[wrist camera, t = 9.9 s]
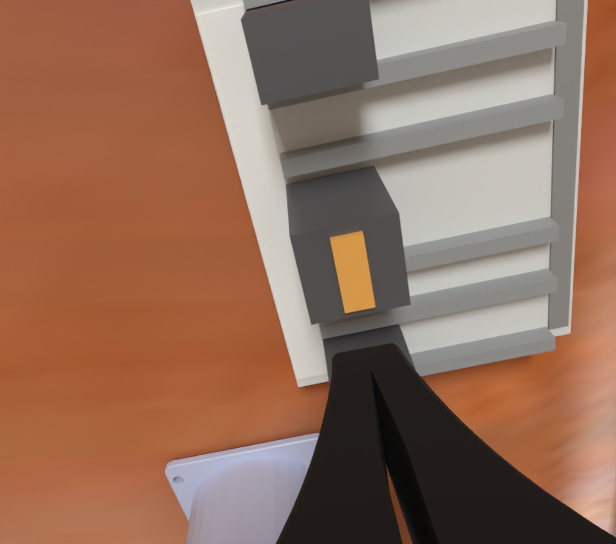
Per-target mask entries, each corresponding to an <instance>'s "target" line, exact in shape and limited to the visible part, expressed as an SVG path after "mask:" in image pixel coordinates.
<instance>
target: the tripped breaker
mask: <svg viewBox="0 0 616 544" xmlns="http://www.w3.org/2000/svg"><path fill="white" fill-rule="evenodd" d="M286 195H287V208H288V222H289V236H290V240H291V244H292V248H293V252H294V256H295V260H296V265H297V269H298V273H299V277H300V281H301V285H302V289H303V293H304V297H305V301H306V306H307V310H308V314H309V318H310V322H311V325H314V324H319V323H324V322H328V321H333V320H338V319H343V318H348V317H353V316H358V315H363V314H368V313H373V312H378V311H383V310H388V309H393V308H398V307H403V306H407V305H411V302H410V294H409V286H408V278H407V270H406V262H405V254H404V247H403V239H402V231H401V223H400V215H399V211H398V210H397V208H396V206H395V204H394V202H393V200H392V198H391V197H390V195H389V193H388V191H387V189H386V187H385V185H384V183H383V182H382V180H381V178H380V176H379V174H378V172H377V170H376V169H375V167H374V166H370V167H365V168H361V169H356V170H352V171H347V172H342V173H338V174H333V175H328V176H324V177H319V178H314V179H310V180H305V181H300V182H296V183H291V184H286Z"/></svg>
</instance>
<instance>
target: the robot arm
mask: <svg viewBox="0 0 616 544" xmlns="http://www.w3.org/2000/svg"><path fill="white" fill-rule="evenodd" d="M386 465H387V468H388V471H389V474H390V477H391V480H392V483H393V486H394V489H395V492H396V495H397V498H398V501H399V504H400V507H401V510H402V513H403V516H404V519H405V522H406V525H407V528H408V531H409V534H410V537H411V540H412V543H413V544H616V537H614V536H613V535H611V534H609V533H608V532H606V531H604V530H603V529H601V528H600V527H598V526H596V525H595V524H593V523H592V522H590V521H589V520H587V519H586V518H584V517H583V516H581V515H580V514H578V513H577V512H575V511H574V510H573V509H571V508H570V507H568V506H567V505H565V504H564V503H562V502H561V501H559V500H558V499H556V498H555V497H553V496H552V495H550V494H549V493H547V492H546V491H544V490H543V489H542V488H540V487H539V486H538V485H536V484H535V483H534V482H532V481H531V480H530V479H529V478H527V477H526V476H525V475H523V474H522V473H521V472H519V471H518V470H517V469H516V468H514V467H513V466H512V465H511V464H509V463H508V462H507V461H506V460H504V459H503V458H502V457H501V456H500V455H498V454H497V453H496V452H495V451H494V450H493V449H491V448H490V447H489V446H488V445H487V444H486V443H485V442H483V441H482V440H481V439H480V438H479V437H478V436H477V435H476V434H475V433H474V432H473V431H472V430H471V429H469V428H468V427H467V426H466V425H465V424H464V423H463V422H462V421H461V420H460V419H459V418H458V417H457V416H456V415H455V414H454V413H453V412H452V411H451V410H450V409H449V408H448V407H447V406H446V405H445V403H444V402H443V401H442V400H441V399H440V398H439V397H438V396H437V395H436V394H435V393H434V392H433V391H432V389H431V388H430V387H429V386H428V385H427V384H426V382H425V381H424V380H423V379H422V378H421V376H420V375H419V374H418V373H417V372H416V370H415V369H414V368H413V366H412V365H411V364H410V362H409V361H408V360H407V358H406V357H405V356H404V354H403V353H402V351H401V350H400V348H399V346H397V345H396V344H394V343H389V344H383V345H378V346H373V347H367V348H362V349H356V350H351V351H346V352H340V353H336V354H335V355H334V356H333V358H332V375H331V383H330V390H329V395H328V401H327V405H326V409H325V414H324V418H323V422H322V426H321V430H320V433H313V434H308V435H303V436H298V437H292V438H287V439H282V440H277V441H272V442H266V443H261V444H256V445H251V446H246V447H241V448H235V449H230V450H225V451H220V452H215V453H210V454H204V455H199V456H194V457H189V458H184V459H179V460H173V461H170V462H169V463H168V464H167V465H166V468H165V475H166V477H167V479H168V481H169V483H170V485H171V487H172V489H173V491H174V493H175V495H176V497H177V499H178V501H179V503H180V505H181V507H182V509H183V511H184V513H185V515H186V517H187V519H188V521H189V525H188V532H187V538H186V544H402V540H401V536H400V532H399V528H398V524H397V520H396V516H395V512H394V508H393V504H392V500H391V496H390V492H389V485H388V477H387V469H386ZM179 476H180V477H179Z"/></svg>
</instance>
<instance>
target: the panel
mask: <svg viewBox="0 0 616 544" xmlns="http://www.w3.org/2000/svg"><path fill="white" fill-rule="evenodd" d="M191 3H192V7H193V10H194V14H195V17H196V21H197V25H198V28H199V32H200V35H201V39H202V43H203V46H204V50H205V53H206V57H207V60H208V64H209V68H210V71H211V75H212V78H213V82H214V86H215V89H216V93H217V96H218V100H219V104H220V107H221V111H222V114H223V118H224V122H225V125H226V129H227V132H228V136H229V140H230V143H231V147H232V150H233V154H234V158H235V161H236V165H237V168H238V172H239V176H240V179H241V183H242V186H243V190H244V194H245V197H246V201H247V204H248V208H249V211H250V215H251V219H252V222H253V226H254V229H255V233H256V237H257V240H258V244H259V247H260V251H261V255H262V258H263V262H264V265H265V269H266V273H267V276H268V280H269V283H270V287H271V291H272V294H273V298H274V301H275V305H276V309H277V312H278V316H279V319H280V323H281V327H282V330H283V334H284V337H285V341H286V344H287V348H288V352H289V355H290V359H291V362H292V366H293V370H294V373H295V377H296V380H297V384H298V387H302V386H307V385H312V384H317V383H322V382H327V381H329V387H330V383H331V375H332V358H333V356H334V355H335V354H336V353H340V352H346V351H351V350H356V349H362V348H367V347H373V346H378V345H383V344H389V343H394V344H396V345H397V346H399V348H400V350H401V351H402V353H403V354H404V356H405V357H406V358H407V360H408V361H409V362H410V364H411V365H412V366H413V368H414V369H415V370H416V372H417V373H418V374H419V375H420V376H426V375H431V374H436V373H441V372H446V371H451V370H456V369H461V368H467V367H472V366H477V365H482V364H487V363H492V362H497V361H502V360H507V359H512V358H517V357H523V356H528V355H533V354H538V353H543V352H548V351H553V350H555V340H556V338H555V336H560V335H565V334H570V331H571V311H572V292H573V273H574V254H575V234H576V215H577V196H578V177H579V157H580V138H581V119H582V100H583V80H584V61H585V42H586V22H587V3H588V0H191ZM370 166H374V167H375V169H376V170H377V172H378V174H379V176H380V178H381V180H382V182H383V183H384V185H385V187H386V189H387V191H388V193H389V195H390V197H391V198H392V200H393V202H394V204H395V206H396V208H397V210H398V211H399V215H400V223H401V231H402V239H403V247H404V254H405V262H406V270H407V278H408V286H409V294H410V302H411V305H407V306H403V307H398V308H393V309H388V310H383V311H378V312H373V313H368V314H363V315H358V316H353V317H348V318H343V319H338V320H333V321H328V322H324V323H319V324H314V325H311V322H310V318H309V314H308V310H307V306H306V301H305V297H304V293H303V289H302V285H301V281H300V277H299V273H298V269H297V265H296V260H295V256H294V252H293V248H292V244H291V240H290V236H289V222H288V208H287V195H286V184H291V183H296V182H300V181H305V180H310V179H314V178H319V177H324V176H328V175H333V174H338V173H342V172H347V171H352V170H356V169H361V168H365V167H370Z"/></svg>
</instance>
